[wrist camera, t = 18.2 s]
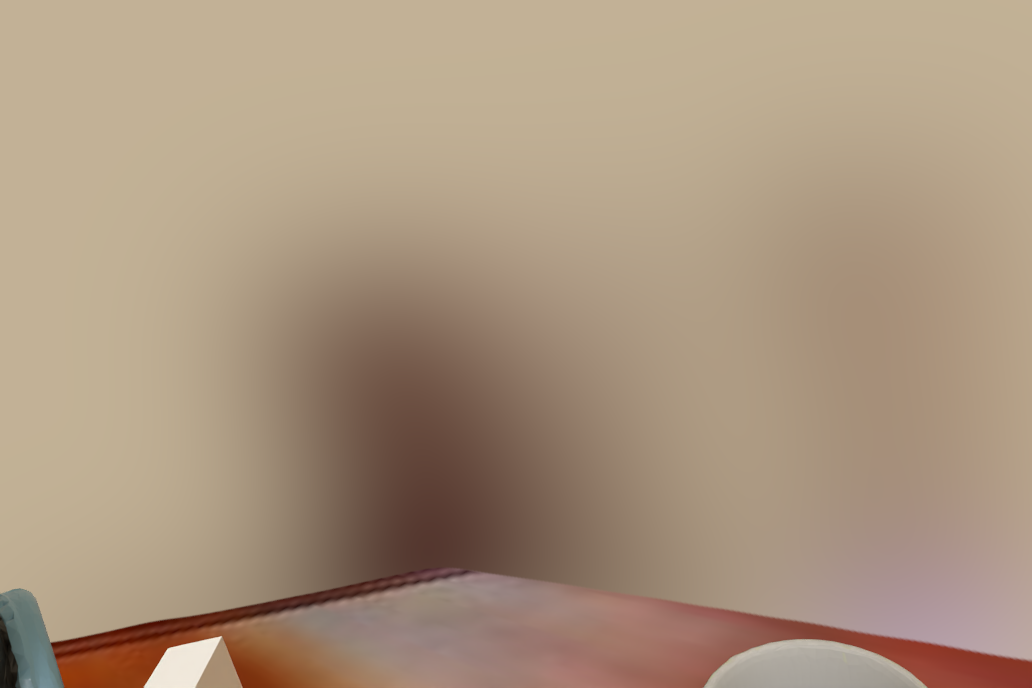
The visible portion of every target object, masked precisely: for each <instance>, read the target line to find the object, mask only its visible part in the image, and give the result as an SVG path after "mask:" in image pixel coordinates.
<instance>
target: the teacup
mask: <svg viewBox="0 0 1032 688" xmlns="http://www.w3.org/2000/svg"><path fill="white" fill-rule="evenodd" d="M703 688H927V687H926V686H925V685H924V684H923V683H922V682H921V681H919V680H918V679H917V678H916V677H915V676H914V675H913V674H911V673H910V672H909V671H907V670H906V669H904V668H903V667H901V666H900V665H898V664H896V663H894V662H892V661H890V660H888V659H887V658H884V657H882V656H880V655H878V654H876V653H873V652H870V651H867V650H864V649H861V648H858V647H855V646H852V645H847V644H843V643H838V642H833V641H825V640H815V639H794V640H784V641H778V642H772V643H768V644H764V645H761V646H758V647H754V648H751V649H749V650H747V651H745V652H742V653H740V654H737V655H735V656H733V657H731V658H729V660H728V661H727V662H726V663H724V664H723V665H722V666H720V667H719V668H718V669H717V670H716V671H715V672H714V673H713V674H712V675H711V677H710V678H709V680H708V681H707V683H706V684H705V686H704V687H703Z"/></svg>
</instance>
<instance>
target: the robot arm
mask: <svg viewBox="0 0 1032 688" xmlns="http://www.w3.org/2000/svg"><path fill="white" fill-rule="evenodd" d="M0 688H64V685H63V682H62V679H61V675H60V672H59V669H58V666H57V662H56V659H55V656H54V653H53V650H52V647H51V643H50V640H49V637H48V634H47V631H46V628H45V625H44V622H43V619H42V616H41V613H40V609H39V606H38V603H37V601H36V599H35V597H34V596H33V595H32V593H31V592H29V591H27V590H24V589H14V590H11V591H8V592H5V593H2V594H0ZM144 688H242V685H241V683H240V680H239V678H238V675H237V673H236V670H235V668H234V665H233V663H232V660H231V658H230V655H229V653H228V650H227V647H226V645H225V642H224V640H223V637H222V636H220V637H216V638H211V639H207V640H202V641H198V642H194V643H189V644H185V645H180V646H176V647H171V648H168V649H167V651H166V652H165V654H164V656H163V657H162V659H161V660H160V662H159V664H158V665H157V667H156V668H155V670H154V672H153V673H152V675H151V677H150V678H149V680H148V681H147V683H146V685H145V686H144Z"/></svg>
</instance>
